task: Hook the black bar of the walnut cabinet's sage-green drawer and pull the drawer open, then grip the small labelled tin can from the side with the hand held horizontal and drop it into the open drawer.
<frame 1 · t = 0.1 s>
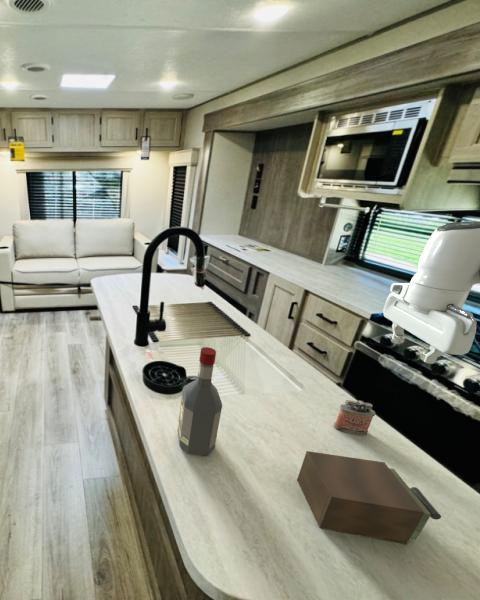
hand: (411, 351, 74), 31 cm above the counter, tool pointing down, fingers open, 8 cm apart
small labelled tin can: (349, 430, 91), on the counter
cabinet: (346, 509, 70), on the counter
liquor: (194, 443, 88), on the counter
drawer: (375, 498, 67), point 5 cm above the counter, slide at 0.5 cm
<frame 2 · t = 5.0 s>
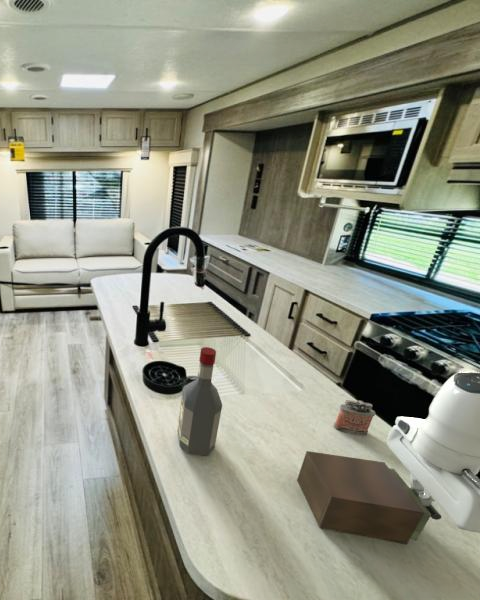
hand: (418, 499, 65), 6 cm above the counter, tool pointing down, fingers closed, pressing on drawer
drawer: (375, 498, 67), point 5 cm above the counter, slide at 0.5 cm, touching gripper
everything else where it was.
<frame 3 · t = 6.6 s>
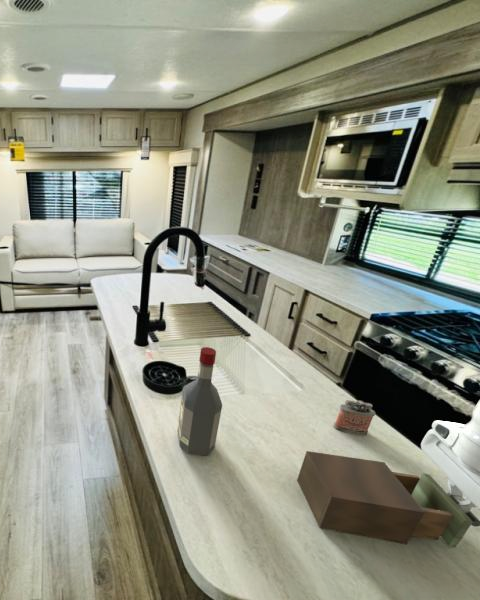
hand: (456, 505, 64), 6 cm above the counter, tool pointing down, fingers closed, pressing on drawer
drawer: (411, 504, 66), point 5 cm above the counter, slide at 7.0 cm, touching gripper
everything else where it was.
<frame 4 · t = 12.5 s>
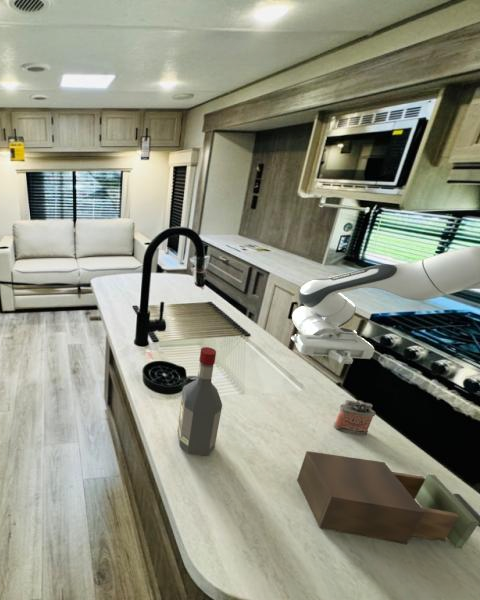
hand: (346, 361, 93), 18 cm above the counter, tool horizontal, fingers closed
drawer: (417, 504, 66), point 5 cm above the counter, slide at 8.0 cm
everything else where it was.
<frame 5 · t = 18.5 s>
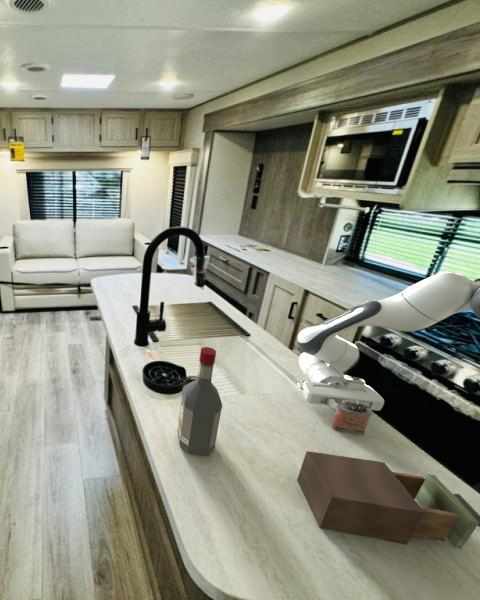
hand: (355, 413, 90), 6 cm above the counter, tool horizontal, fingers closed on small labelled tin can, 5 cm apart
small labelled tin can: (347, 429, 92), on the counter, touching gripper
everything else where it was.
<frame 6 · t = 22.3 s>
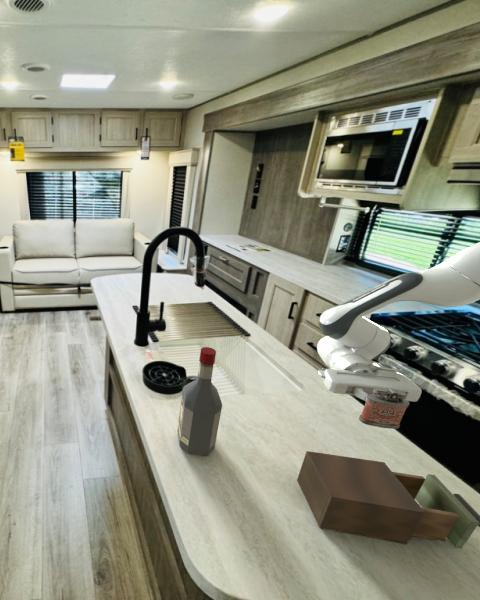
hand: (388, 404, 77), 17 cm above the counter, tool horizontal, fingers closed on small labelled tin can, 5 cm apart
small labelled tin can: (378, 423, 79), point 11 cm above the counter, touching gripper
everything else where it was.
when the fingers open (15 cm above the counter, at t = 26.1 s): small labelled tin can drops 2 cm, resting on cabinet, drawer.
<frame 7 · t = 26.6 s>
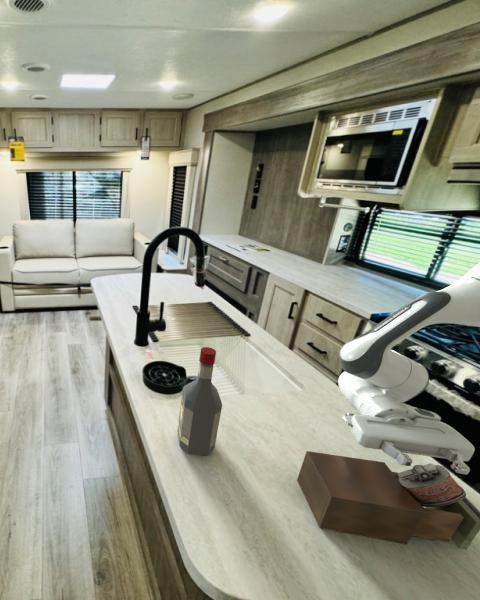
hand: (435, 467, 62), 15 cm above the counter, tool horizontal, fingers open, 8 cm apart
small labelled tin can: (440, 496, 64), point 8 cm above the counter, touching cabinet, drawer
drawer: (421, 505, 65), point 5 cm above the counter, slide at 8.7 cm, touching small labelled tin can
everything else where it was.
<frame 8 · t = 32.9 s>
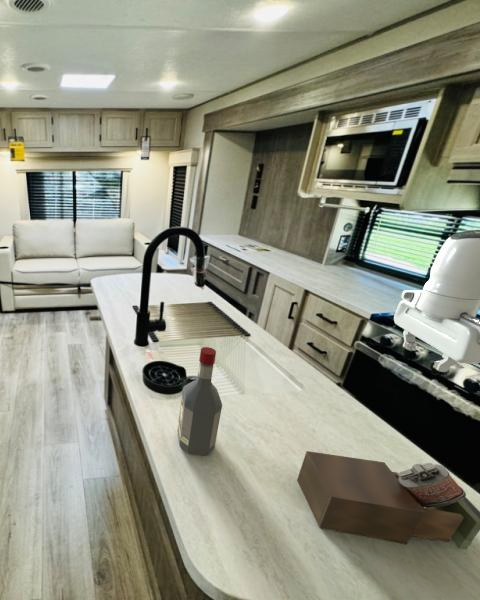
hand: (423, 358, 73), 29 cm above the counter, tool pointing down, fingers open, 8 cm apart
nothing on the counter moved.
at the end: drawer slide at 8.7 cm; small labelled tin can inside the target area in the drawer (3.3 cm from its centre), point 7.4 cm above the cabinet's base; the gripper is holding nothing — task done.
